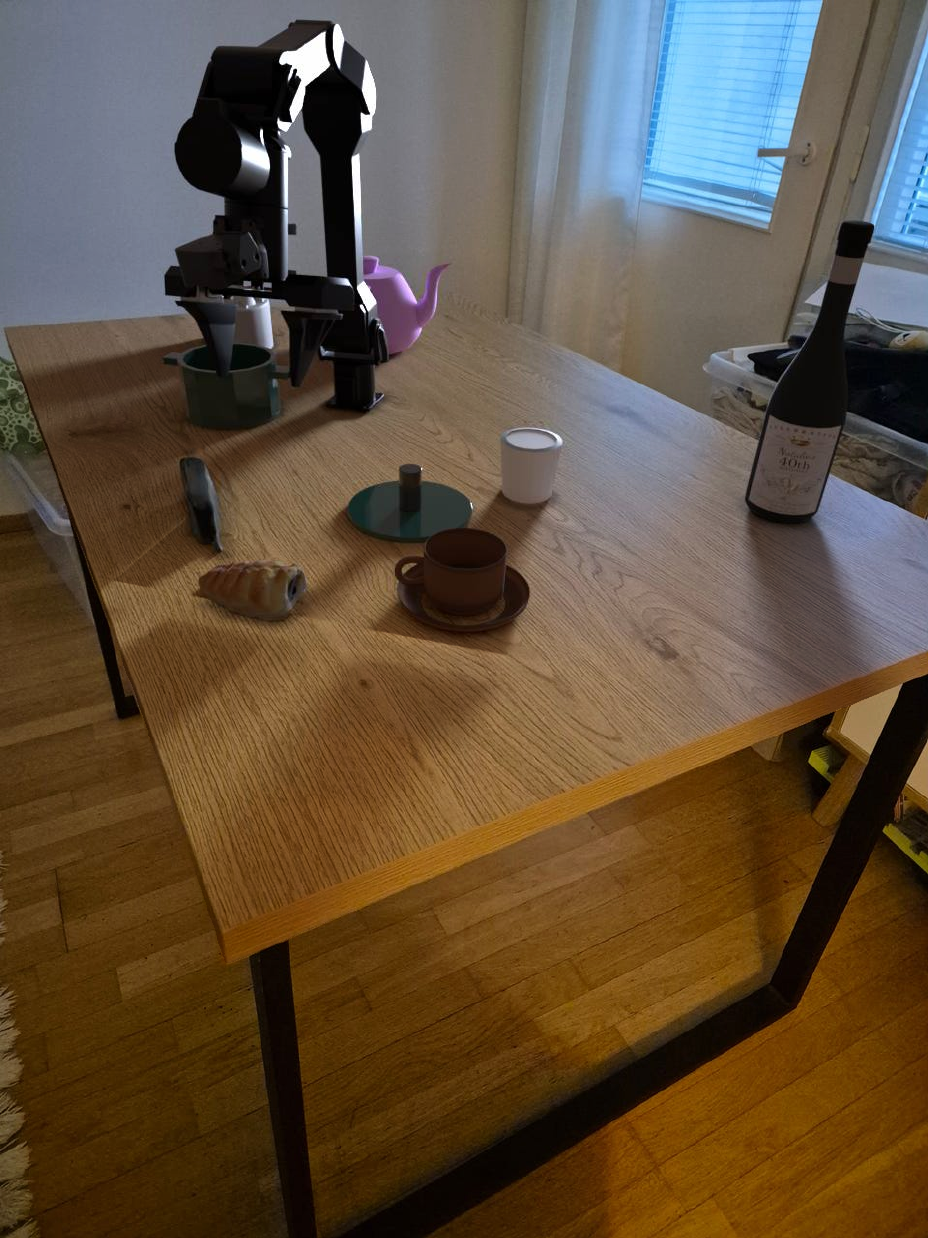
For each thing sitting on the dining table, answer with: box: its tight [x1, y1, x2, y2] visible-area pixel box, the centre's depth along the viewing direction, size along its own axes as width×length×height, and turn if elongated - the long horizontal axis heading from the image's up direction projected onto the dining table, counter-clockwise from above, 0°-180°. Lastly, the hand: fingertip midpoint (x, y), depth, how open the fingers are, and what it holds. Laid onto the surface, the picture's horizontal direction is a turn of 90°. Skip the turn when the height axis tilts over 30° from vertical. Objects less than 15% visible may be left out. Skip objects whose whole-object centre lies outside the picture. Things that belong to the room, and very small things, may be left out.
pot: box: [162, 343, 290, 430], centre depth 112 cm, size 12×18×8 cm
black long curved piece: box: [179, 456, 223, 554], centre depth 87 cm, size 5×3×15 cm
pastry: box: [197, 557, 308, 622], centre depth 76 cm, size 9×7×4 cm
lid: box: [347, 463, 474, 543], centre depth 90 cm, size 13×13×6 cm
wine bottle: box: [744, 219, 875, 524], centre depth 87 cm, size 8×8×30 cm
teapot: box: [363, 255, 452, 356], centre depth 137 cm, size 22×22×14 cm
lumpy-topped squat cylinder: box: [223, 284, 274, 350], centre depth 136 cm, size 10×13×9 cm
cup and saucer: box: [394, 527, 531, 633], centre depth 76 cm, size 12×12×6 cm
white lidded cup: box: [499, 427, 563, 505], centre depth 95 cm, size 7×7×7 cm
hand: (258, 382), depth 83 cm, fingers open, 9 cm apart
